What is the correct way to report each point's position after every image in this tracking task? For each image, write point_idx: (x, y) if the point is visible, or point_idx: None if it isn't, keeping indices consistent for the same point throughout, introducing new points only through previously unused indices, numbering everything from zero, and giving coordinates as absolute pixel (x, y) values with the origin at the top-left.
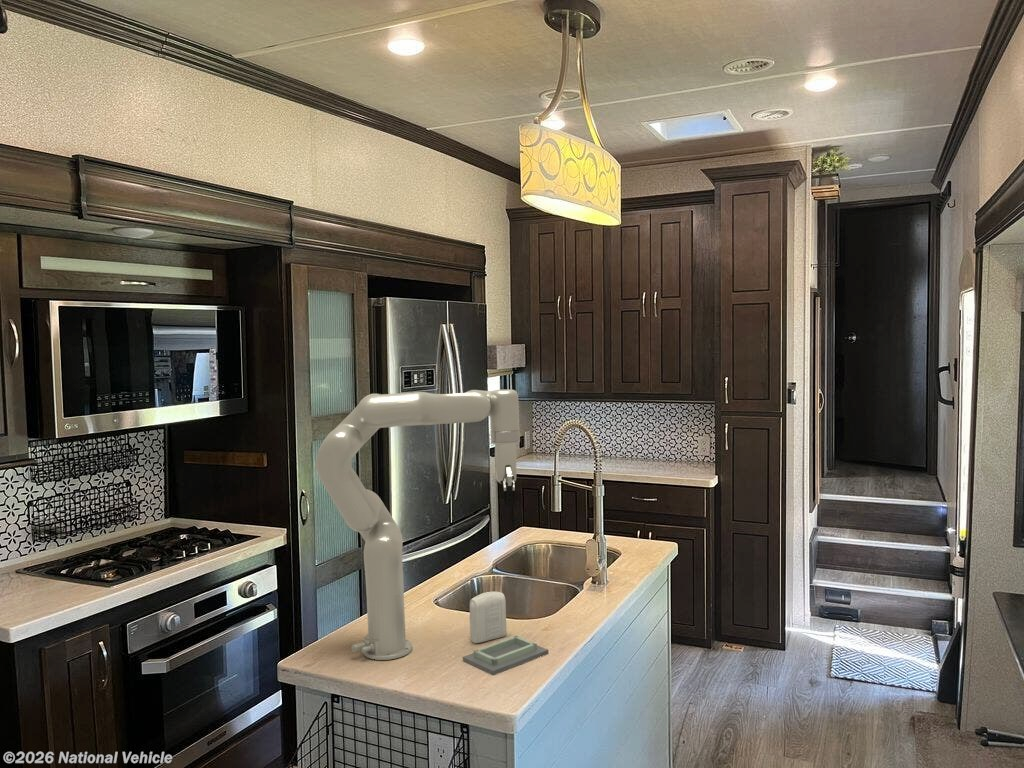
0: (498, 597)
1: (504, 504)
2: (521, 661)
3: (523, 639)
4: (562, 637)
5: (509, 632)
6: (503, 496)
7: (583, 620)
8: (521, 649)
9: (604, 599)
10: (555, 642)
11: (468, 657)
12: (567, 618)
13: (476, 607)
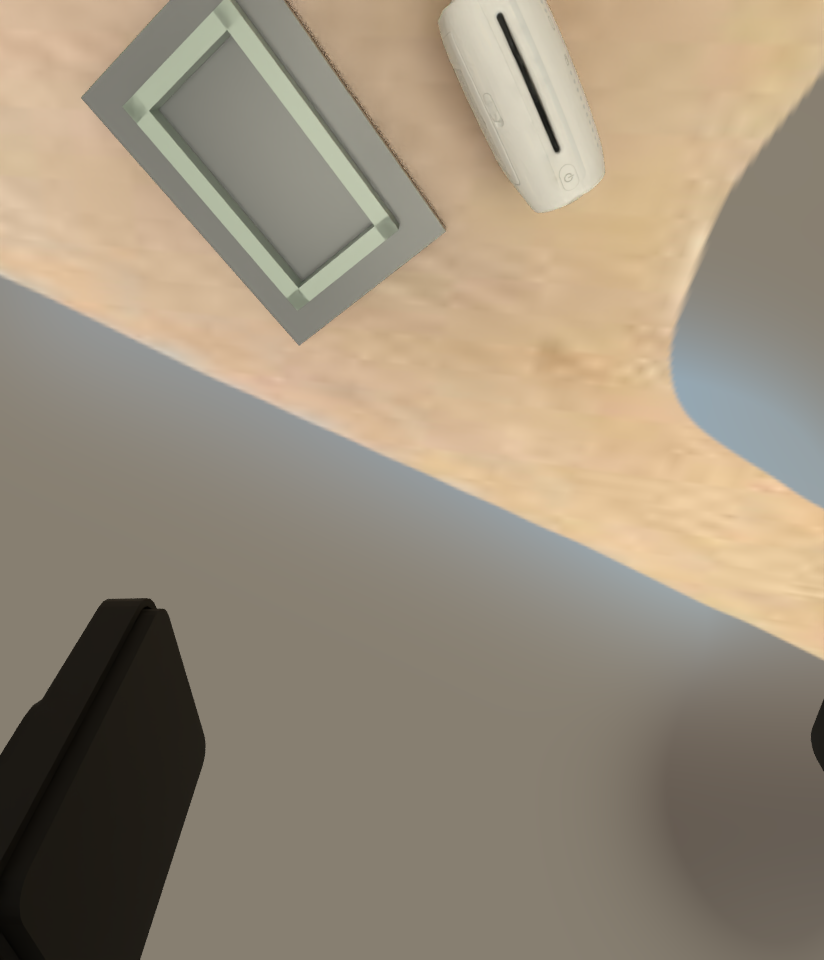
0: (519, 172)
1: (102, 630)
2: (199, 231)
3: (352, 259)
4: (452, 406)
5: None
6: (2, 767)
7: (603, 495)
8: (240, 242)
9: (790, 588)
10: (407, 377)
11: None
12: (643, 447)
13: (444, 11)
